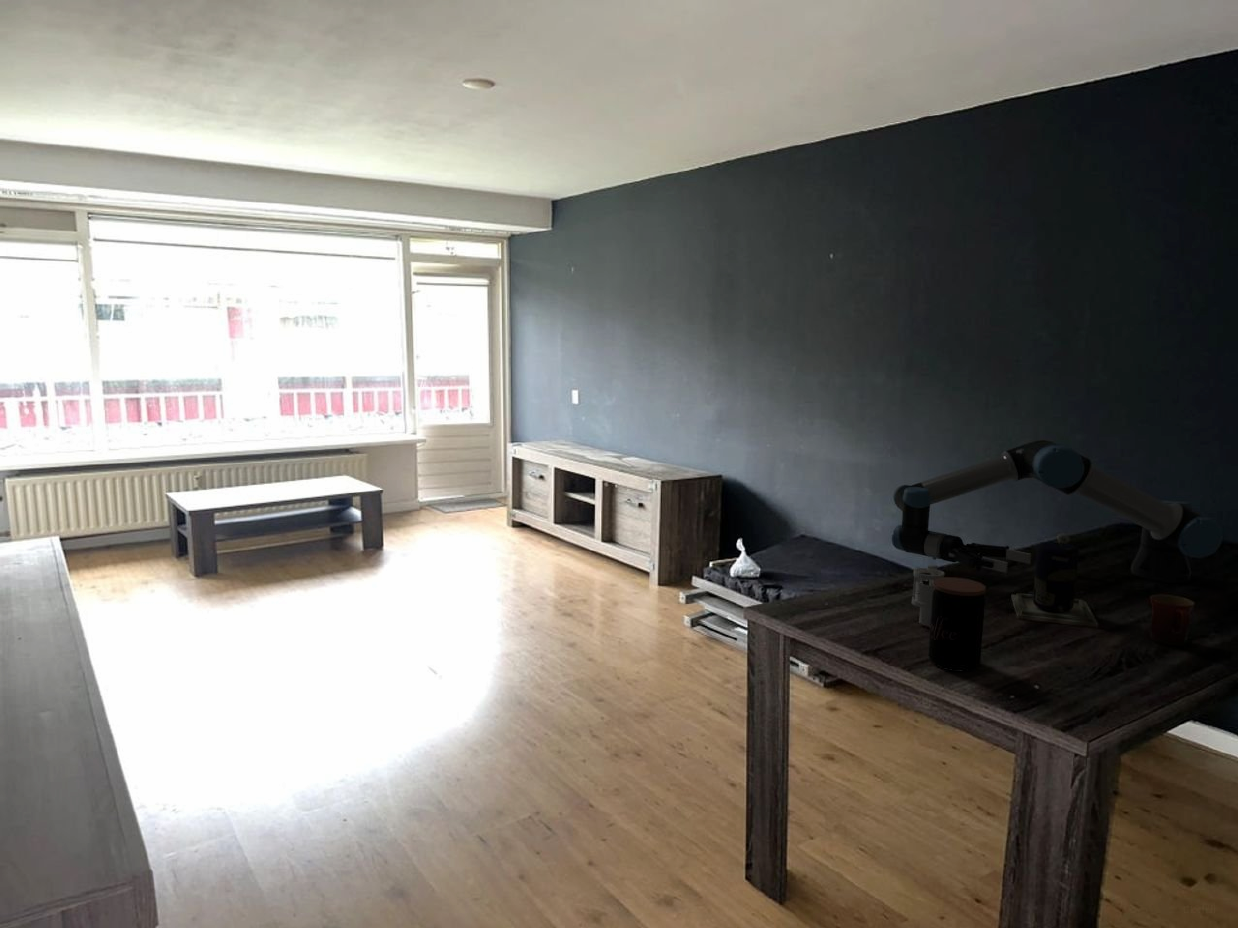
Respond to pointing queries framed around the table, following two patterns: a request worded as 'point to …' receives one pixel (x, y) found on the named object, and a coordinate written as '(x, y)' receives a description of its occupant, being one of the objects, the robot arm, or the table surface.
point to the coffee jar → (956, 623)
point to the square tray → (1053, 612)
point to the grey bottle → (925, 591)
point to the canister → (1055, 576)
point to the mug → (1170, 619)
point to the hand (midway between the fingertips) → (1018, 563)
